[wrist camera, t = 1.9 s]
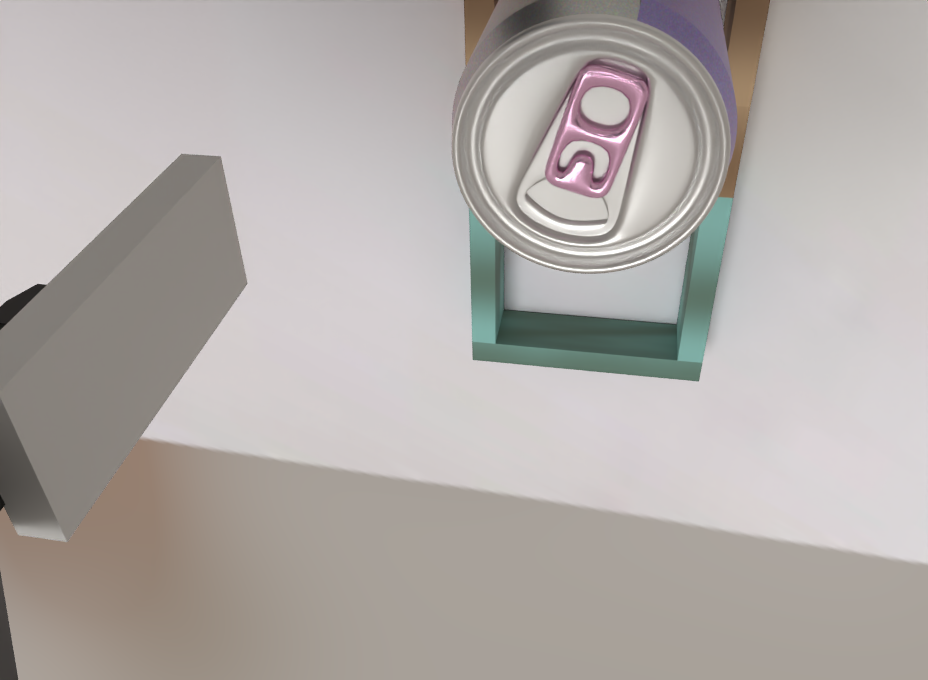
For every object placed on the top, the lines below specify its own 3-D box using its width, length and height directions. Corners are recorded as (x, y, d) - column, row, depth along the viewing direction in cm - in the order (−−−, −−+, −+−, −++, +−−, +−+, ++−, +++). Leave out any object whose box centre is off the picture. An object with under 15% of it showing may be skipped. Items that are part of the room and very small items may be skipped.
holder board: (474, -204, 27) (459, -194, 25) (795, -207, 25) (806, -197, 23) (482, 325, 39) (472, 359, 37) (697, 344, 38) (698, 381, 36)
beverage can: (740, -105, 27) (798, 65, 15) (666, 72, 31) (669, 315, 19) (560, -163, 27) (482, -36, 15) (508, 21, 31) (414, 235, 19)
